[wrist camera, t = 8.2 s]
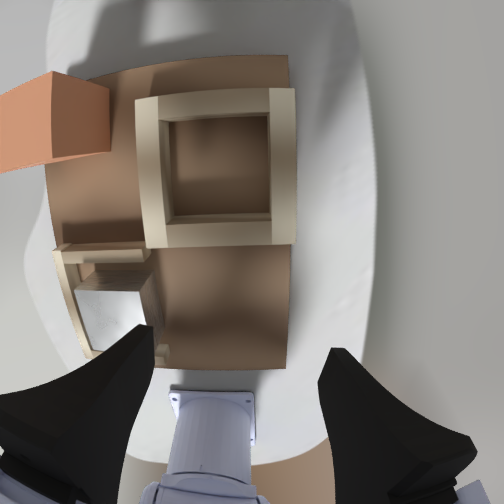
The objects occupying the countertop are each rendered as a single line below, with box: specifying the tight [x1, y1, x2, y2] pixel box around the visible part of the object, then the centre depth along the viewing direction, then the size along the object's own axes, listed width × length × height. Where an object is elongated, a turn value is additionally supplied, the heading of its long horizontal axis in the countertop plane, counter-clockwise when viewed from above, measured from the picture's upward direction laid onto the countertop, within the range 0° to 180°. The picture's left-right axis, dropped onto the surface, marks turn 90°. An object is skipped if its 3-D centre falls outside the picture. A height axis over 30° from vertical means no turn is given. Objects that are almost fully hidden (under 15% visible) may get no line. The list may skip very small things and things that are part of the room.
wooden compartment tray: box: [45, 55, 291, 370], centre depth 18 cm, size 21×16×4 cm
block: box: [74, 270, 165, 353], centre depth 17 cm, size 4×4×3 cm
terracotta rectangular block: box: [0, 71, 111, 173], centre depth 12 cm, size 4×4×6 cm
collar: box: [135, 88, 297, 248], centre depth 15 cm, size 8×8×2 cm
